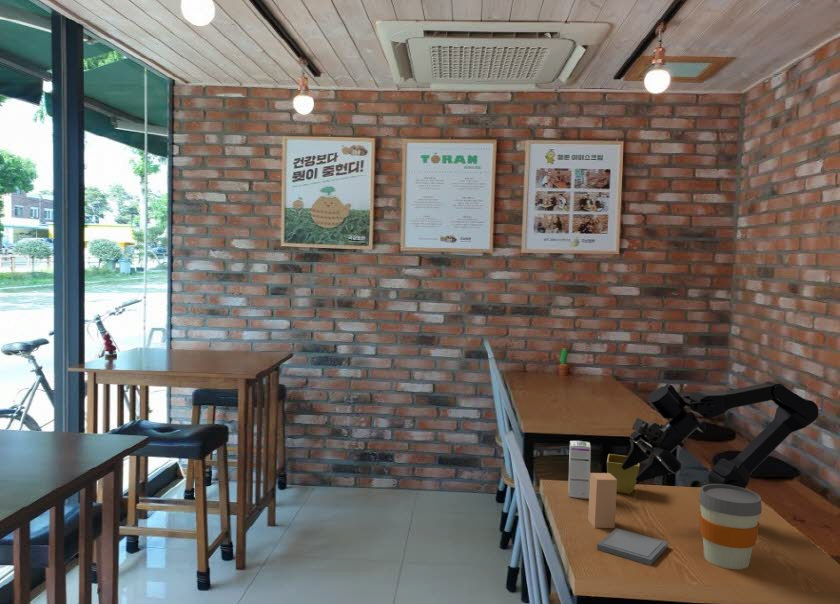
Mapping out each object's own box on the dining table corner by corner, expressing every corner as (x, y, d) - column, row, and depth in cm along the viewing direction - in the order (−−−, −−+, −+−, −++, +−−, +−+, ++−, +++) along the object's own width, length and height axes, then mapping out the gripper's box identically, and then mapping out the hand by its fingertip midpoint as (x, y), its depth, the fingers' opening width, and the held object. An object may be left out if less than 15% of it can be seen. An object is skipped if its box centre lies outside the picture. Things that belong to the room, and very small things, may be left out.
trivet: (667, 547, 151) (668, 541, 151) (650, 565, 141) (650, 559, 141) (616, 533, 158) (616, 527, 158) (596, 549, 148) (597, 543, 148)
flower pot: (638, 487, 191) (639, 457, 191) (637, 497, 183) (639, 465, 183) (606, 483, 194) (608, 453, 194) (605, 493, 186) (606, 461, 185)
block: (607, 520, 166) (609, 473, 165) (614, 528, 161) (617, 479, 160) (587, 519, 166) (590, 472, 165) (594, 527, 161) (596, 479, 160)
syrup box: (589, 499, 180) (592, 447, 180) (567, 497, 182) (570, 445, 181) (588, 492, 186) (591, 441, 185) (567, 490, 187) (569, 439, 186)
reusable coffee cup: (755, 579, 136) (759, 508, 136) (690, 562, 143) (694, 495, 142) (760, 557, 147) (765, 491, 146) (700, 543, 154) (704, 479, 153)
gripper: (639, 400, 172) (595, 441, 172) (671, 416, 153) (622, 462, 153) (666, 430, 173) (623, 471, 173) (701, 450, 154) (653, 496, 154)
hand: (629, 474), depth 163 cm, fingers open, 9 cm apart
